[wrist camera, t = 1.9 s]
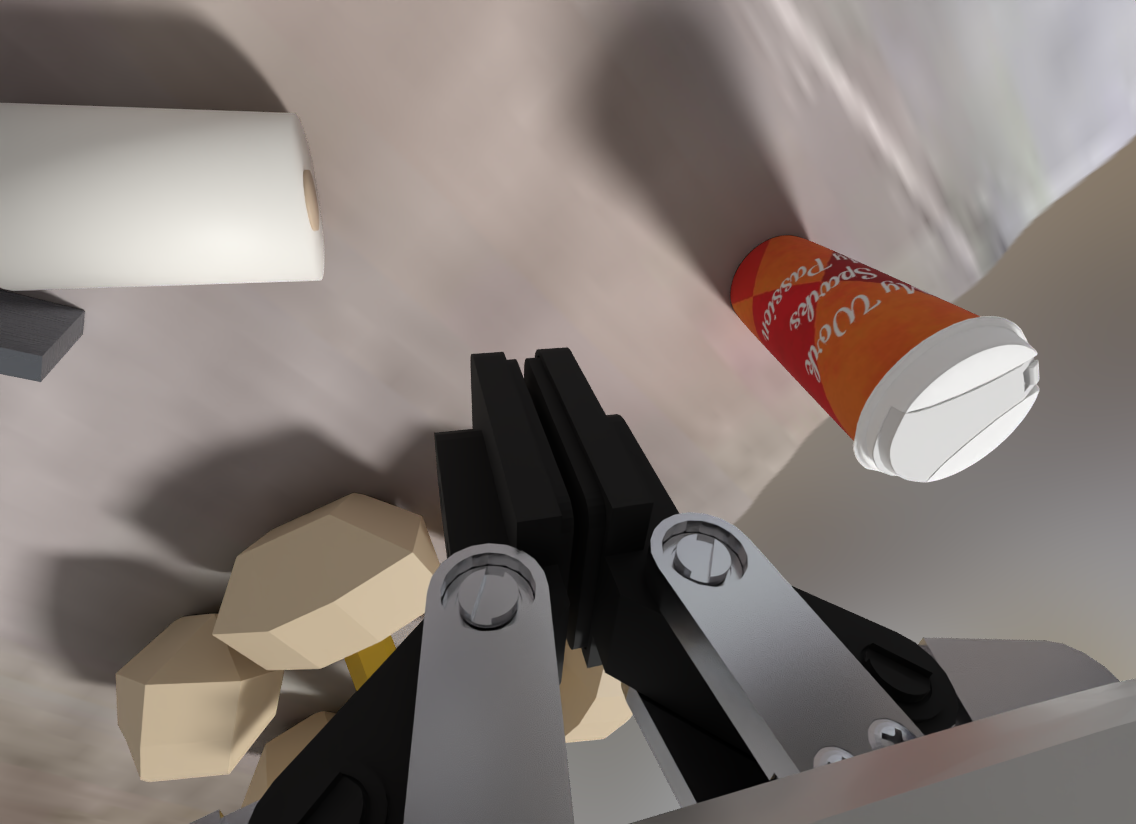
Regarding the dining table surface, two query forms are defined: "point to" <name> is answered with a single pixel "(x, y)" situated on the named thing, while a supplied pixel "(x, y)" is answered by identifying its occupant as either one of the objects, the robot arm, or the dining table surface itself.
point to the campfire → (301, 645)
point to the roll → (155, 198)
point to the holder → (35, 335)
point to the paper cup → (887, 358)
